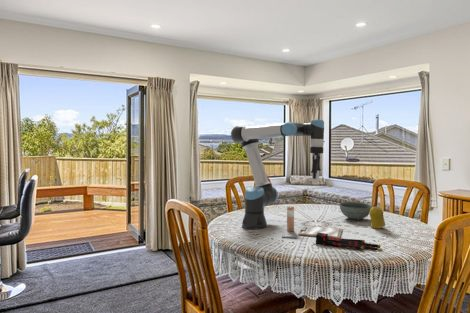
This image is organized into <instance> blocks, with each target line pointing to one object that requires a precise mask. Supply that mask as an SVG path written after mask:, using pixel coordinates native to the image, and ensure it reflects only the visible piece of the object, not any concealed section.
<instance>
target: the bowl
mask: <svg viewBox="0 0 470 313" xmlns="http://www.w3.org/2000/svg"><path fill="white" fill-rule="evenodd" d="M338 206H339V209H340V211H341V214H343V215H344V216H345V217H346V218H347V219H348V220H350V221H357V222H359V221H362V220H363V219H364V218H366V217H369V216H370V215H369V213H370V209H371V208H372V207H373V205H371V204H370V203H366V202H361V201H342V202H339V203H338Z"/></svg>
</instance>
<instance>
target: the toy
mask: <svg viewBox="0 0 470 313" xmlns="http://www.w3.org/2000/svg"><path fill="white" fill-rule="evenodd" d="M315 245H320V246H326V245H332V246H336V247H337V246H338V247H342V248H346V249H347V248H348V249H354V250H360V251H364V250H368V249H369V251H375V250H378V251H377V252H380V251H381V244H376V243H367V242H365V239H356V238H355V239H354V238H353V239H352V238H351V239H350V238H343V237H340V238H336V237H329V236H328V234H325V233H317V235H316V237H315Z"/></svg>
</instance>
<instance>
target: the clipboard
mask: <svg viewBox="0 0 470 313" xmlns="http://www.w3.org/2000/svg"><path fill="white" fill-rule="evenodd" d="M317 233H325V234H328V236H329V237H336V238H342V237H341V236H342V233H343V228H336V227H325V226H315V225H314V226H311V225H304V226H303V225H302V227H301V228H300V231H299V232H298V234H297V236H303V237H309V238H310V237H311V238H316V235H317Z"/></svg>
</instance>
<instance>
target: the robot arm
mask: <svg viewBox="0 0 470 313" xmlns="http://www.w3.org/2000/svg"><path fill="white" fill-rule="evenodd" d="M324 135H325V121H324V120H323V119H311V120H310V122H308V123H307V122H305V123H302V122H292V121H288V122H282V123H273V124H265V125H256V126H255V125H254V126H251V125H236V126H234V127H233V128H232V130H231V132H230V138H231V140H232V141H233V142H234V143H236V144H240V145H241V147H242V148H241V149H243V150H245V153H246V157H247V160H248V164H249V166H250V170H251V171H250V172H251V174H252V177H253V180H254V186H253V187H249V188H246V190H245V191H244V216H243V218H242V222H241V224H242V225H241V226H242V228H244V229H248V230H249V229H250V230H261V229H265V228H267V227H268V223H267V219H266V216H265V207H268V206H271V205H273V204H275V203H276V202H277V200H278V197H279V193H278V192H279V191H277V189H276V188H275V187H274V186H273V184H272V182H271V181H269V179H268V176H267V173H266V169H265V166H264V162H263V160H262V155H261V152H260V149H259V144H260V142H259V141H260V139H270V138H281V137H291V136H292V137H296V136H297V137H309V138H310V139H309V140H310V141H309V146H310V147H309V152H310V153H309V154H312V155H313V156H312V165H311V166H312V168H311V170H310V173H311V185H318V183H319V182H320V171H321V170H322V169H321V167H320V163H321V154H323V153H324V144H325V140H324V138H325V136H324Z"/></svg>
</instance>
